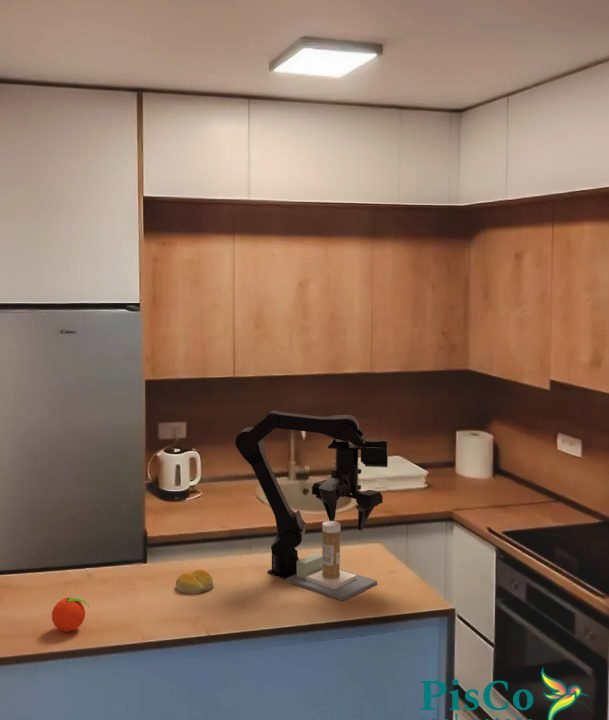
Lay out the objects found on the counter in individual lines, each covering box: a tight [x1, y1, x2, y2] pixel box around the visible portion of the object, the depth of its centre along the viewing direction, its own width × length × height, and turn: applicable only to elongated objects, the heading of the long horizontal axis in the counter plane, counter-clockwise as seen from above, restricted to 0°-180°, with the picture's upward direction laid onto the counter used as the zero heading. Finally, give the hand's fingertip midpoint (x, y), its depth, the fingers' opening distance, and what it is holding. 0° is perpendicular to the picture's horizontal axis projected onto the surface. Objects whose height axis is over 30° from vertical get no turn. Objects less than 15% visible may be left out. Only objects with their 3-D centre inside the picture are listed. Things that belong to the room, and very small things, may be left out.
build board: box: [285, 552, 378, 601], centre depth 201 cm, size 18×14×5 cm
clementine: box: [51, 597, 90, 633], centre depth 173 cm, size 8×7×7 cm
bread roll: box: [175, 569, 215, 595], centre depth 197 cm, size 8×9×4 cm
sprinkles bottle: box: [321, 520, 342, 578], centre depth 200 cm, size 5×5×14 cm
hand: (346, 526), depth 204 cm, fingers open, 9 cm apart
